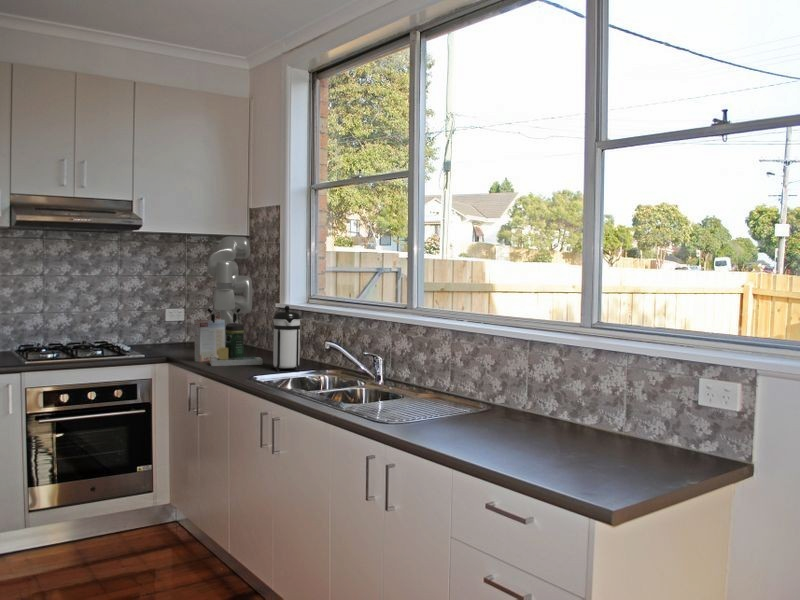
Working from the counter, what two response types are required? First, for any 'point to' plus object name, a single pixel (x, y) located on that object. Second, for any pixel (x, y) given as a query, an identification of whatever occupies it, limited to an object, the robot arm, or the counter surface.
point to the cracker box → (208, 339)
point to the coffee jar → (234, 340)
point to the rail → (236, 361)
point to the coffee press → (286, 339)
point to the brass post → (223, 353)
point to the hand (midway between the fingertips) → (223, 322)
